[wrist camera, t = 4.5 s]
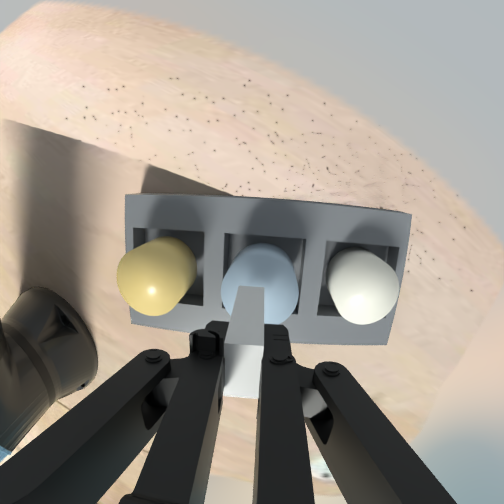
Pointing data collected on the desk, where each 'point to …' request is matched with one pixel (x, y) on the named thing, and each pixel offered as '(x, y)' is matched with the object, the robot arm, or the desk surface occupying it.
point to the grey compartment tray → (273, 232)
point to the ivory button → (361, 285)
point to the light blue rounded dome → (263, 280)
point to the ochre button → (156, 275)
